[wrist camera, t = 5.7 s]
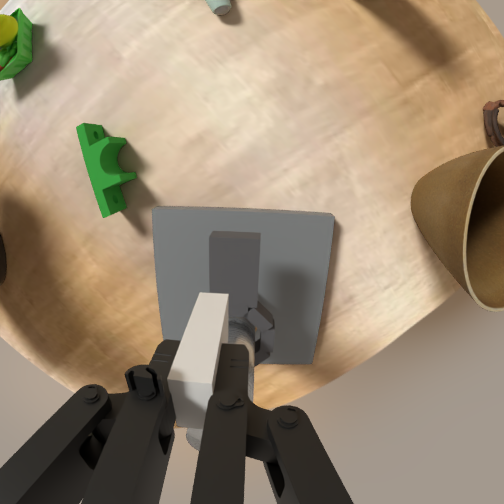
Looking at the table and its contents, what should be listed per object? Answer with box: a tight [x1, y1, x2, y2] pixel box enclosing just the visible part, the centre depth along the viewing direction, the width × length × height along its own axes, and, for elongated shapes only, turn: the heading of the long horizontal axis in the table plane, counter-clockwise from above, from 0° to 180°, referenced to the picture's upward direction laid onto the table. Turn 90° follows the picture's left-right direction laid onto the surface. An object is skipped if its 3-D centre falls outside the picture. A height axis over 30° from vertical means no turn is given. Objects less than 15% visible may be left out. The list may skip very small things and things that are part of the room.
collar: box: [209, 231, 275, 367], centre depth 25 cm, size 7×13×2 cm, turn 178°
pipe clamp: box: [76, 123, 137, 218], centre depth 29 cm, size 11×4×5 cm, turn 17°
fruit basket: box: [0, 8, 32, 80], centre depth 19 cm, size 11×9×11 cm
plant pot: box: [411, 146, 504, 312], centre depth 24 cm, size 15×15×16 cm
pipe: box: [186, 316, 257, 451], centre depth 24 cm, size 4×4×20 cm
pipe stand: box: [152, 206, 335, 364], centre depth 35 cm, size 20×20×2 cm
